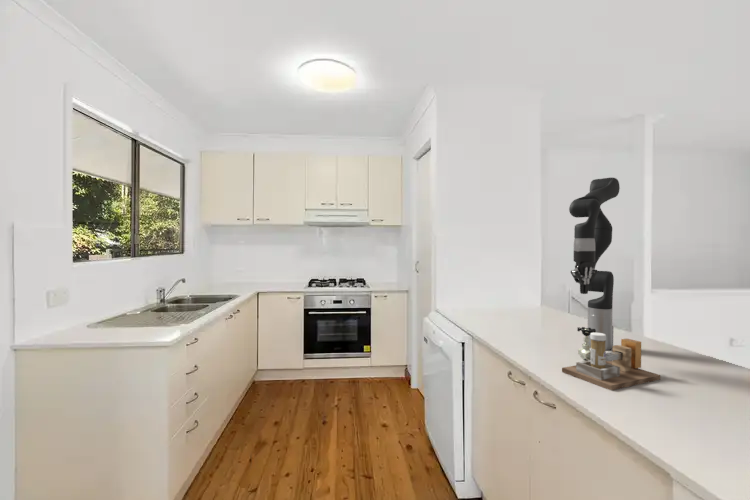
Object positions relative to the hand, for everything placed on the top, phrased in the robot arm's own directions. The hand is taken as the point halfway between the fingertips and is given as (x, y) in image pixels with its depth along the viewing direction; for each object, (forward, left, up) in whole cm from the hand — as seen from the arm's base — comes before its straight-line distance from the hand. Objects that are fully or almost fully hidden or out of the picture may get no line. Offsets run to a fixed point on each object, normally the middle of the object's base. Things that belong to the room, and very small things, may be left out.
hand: (583, 293), depth 150 cm
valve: (+2, +3, -26) cm, 26 cm away
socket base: (+11, +19, -25) cm, 33 cm away
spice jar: (+16, +19, -24) cm, 34 cm away
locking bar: (+6, +19, -23) cm, 30 cm away
